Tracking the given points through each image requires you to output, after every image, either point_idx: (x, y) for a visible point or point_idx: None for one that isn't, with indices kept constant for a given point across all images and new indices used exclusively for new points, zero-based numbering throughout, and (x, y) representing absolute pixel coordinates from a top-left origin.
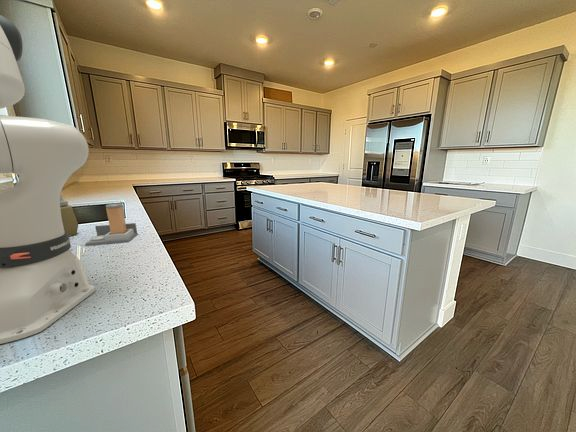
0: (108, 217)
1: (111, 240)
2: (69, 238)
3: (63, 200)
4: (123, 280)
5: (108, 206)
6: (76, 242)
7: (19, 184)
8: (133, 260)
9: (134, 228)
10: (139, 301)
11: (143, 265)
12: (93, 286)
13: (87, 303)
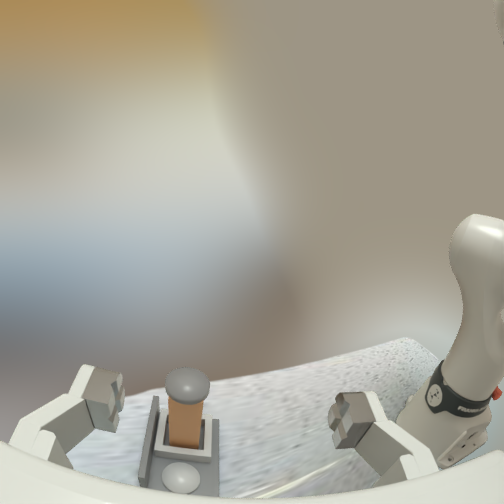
0: (201, 418)
1: (212, 450)
2: (438, 365)
3: None
4: (385, 385)
5: (207, 392)
6: None
7: (500, 315)
8: (327, 393)
9: (158, 407)
10: (414, 361)
11: (345, 378)
12: (411, 395)
13: None
